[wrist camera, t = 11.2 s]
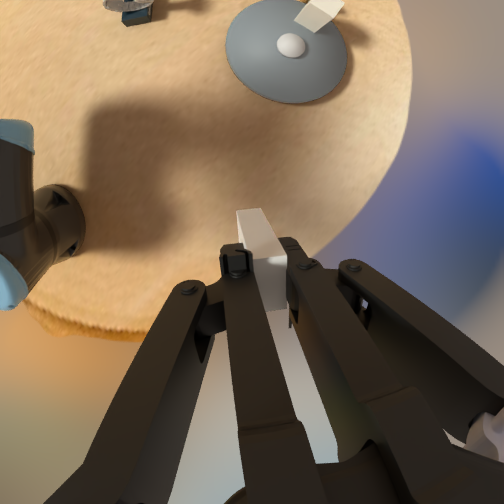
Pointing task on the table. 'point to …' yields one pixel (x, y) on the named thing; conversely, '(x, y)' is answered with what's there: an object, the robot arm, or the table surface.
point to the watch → (131, 10)
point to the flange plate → (287, 49)
